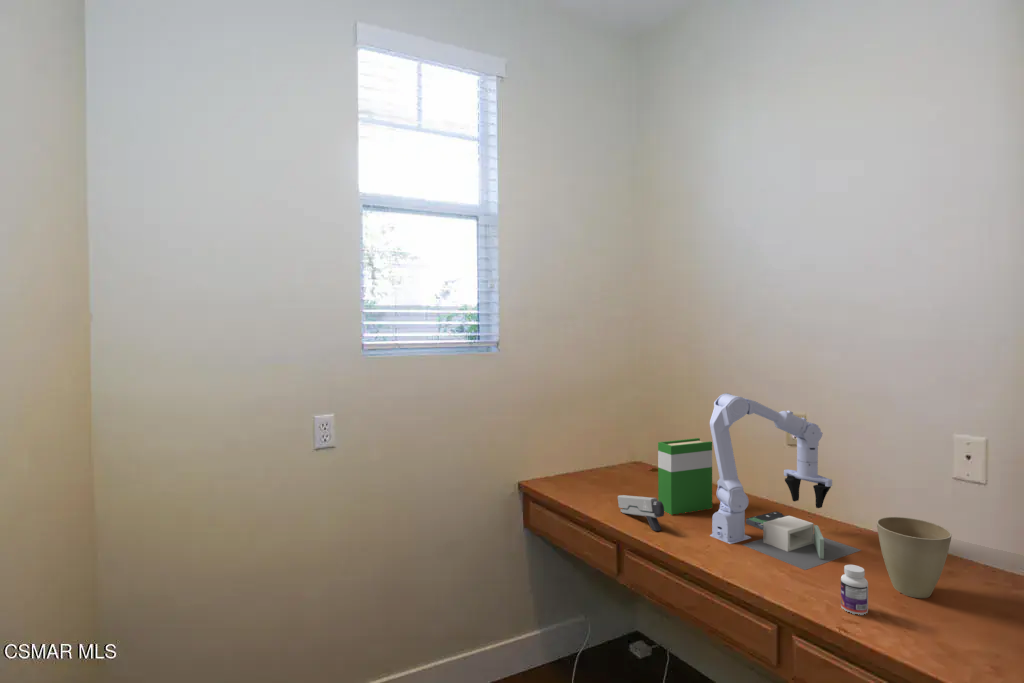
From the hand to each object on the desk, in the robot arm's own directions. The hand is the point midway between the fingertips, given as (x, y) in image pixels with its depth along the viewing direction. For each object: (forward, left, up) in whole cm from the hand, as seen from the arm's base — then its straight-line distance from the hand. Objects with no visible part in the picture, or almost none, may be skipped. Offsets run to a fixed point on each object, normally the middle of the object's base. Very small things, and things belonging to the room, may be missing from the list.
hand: (807, 504), depth 174 cm
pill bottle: (-33, -34, -10) cm, 48 cm away
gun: (-36, +36, -10) cm, 52 cm away
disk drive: (-1, +10, -10) cm, 15 cm away
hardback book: (-13, +37, -10) cm, 41 cm away
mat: (-11, -6, -10) cm, 16 cm away
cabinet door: (-9, -10, -9) cm, 17 cm away
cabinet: (-11, -2, -9) cm, 15 cm away
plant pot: (-12, -36, -10) cm, 39 cm away
